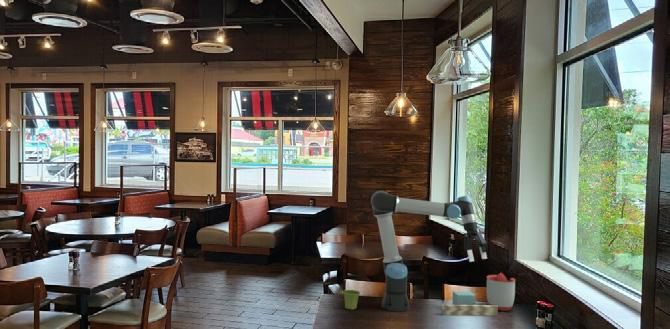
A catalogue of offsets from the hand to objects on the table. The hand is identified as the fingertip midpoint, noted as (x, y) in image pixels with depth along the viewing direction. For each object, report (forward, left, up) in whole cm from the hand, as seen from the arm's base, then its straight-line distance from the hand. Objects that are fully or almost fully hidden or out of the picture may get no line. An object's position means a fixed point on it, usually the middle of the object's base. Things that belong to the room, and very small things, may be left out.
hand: (478, 260), depth 252 cm
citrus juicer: (+15, +3, -27) cm, 32 cm away
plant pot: (-71, -2, -27) cm, 76 cm away
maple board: (-8, -10, -27) cm, 30 cm away
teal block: (-8, -1, -27) cm, 28 cm away
